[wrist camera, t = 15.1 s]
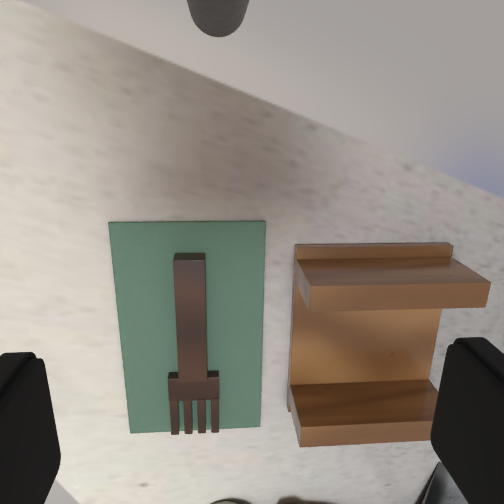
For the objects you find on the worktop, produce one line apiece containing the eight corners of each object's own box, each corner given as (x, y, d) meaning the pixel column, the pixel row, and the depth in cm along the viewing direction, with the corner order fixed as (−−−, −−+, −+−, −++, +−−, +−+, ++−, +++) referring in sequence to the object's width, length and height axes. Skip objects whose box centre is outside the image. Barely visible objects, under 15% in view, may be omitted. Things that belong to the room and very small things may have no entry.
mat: (109, 222, 31) (108, 223, 31) (265, 220, 32) (265, 221, 32) (130, 431, 38) (130, 433, 38) (259, 424, 39) (260, 427, 39)
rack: (295, 244, 33) (311, 272, 28) (448, 242, 34) (494, 269, 29) (286, 406, 39) (299, 457, 33) (420, 400, 40) (453, 448, 34)
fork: (161, 253, 32) (159, 260, 31) (218, 252, 33) (218, 259, 31) (171, 427, 38) (169, 440, 36) (219, 424, 38) (219, 437, 37)
